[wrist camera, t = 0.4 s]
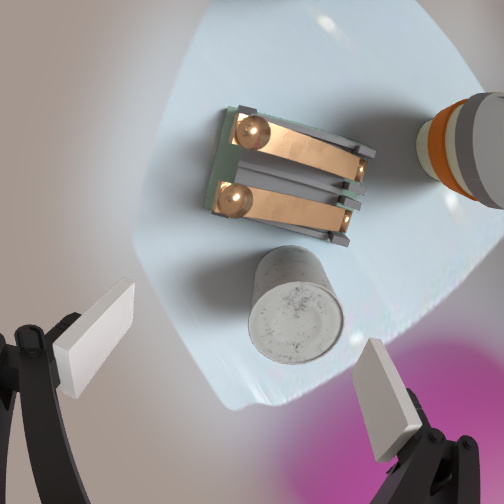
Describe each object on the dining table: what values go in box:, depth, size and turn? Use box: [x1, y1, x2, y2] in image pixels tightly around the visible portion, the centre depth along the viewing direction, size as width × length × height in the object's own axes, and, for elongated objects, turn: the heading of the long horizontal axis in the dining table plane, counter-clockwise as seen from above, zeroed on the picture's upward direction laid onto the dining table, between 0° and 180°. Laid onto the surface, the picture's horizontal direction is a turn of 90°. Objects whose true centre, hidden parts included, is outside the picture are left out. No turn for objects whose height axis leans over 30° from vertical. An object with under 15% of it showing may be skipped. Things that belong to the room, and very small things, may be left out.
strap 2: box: [212, 180, 353, 233], centre depth 27 cm, size 3×15×2 cm
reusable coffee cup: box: [416, 92, 504, 210], centre depth 26 cm, size 12×12×15 cm
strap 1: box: [228, 113, 367, 183], centre depth 26 cm, size 3×15×2 cm
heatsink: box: [203, 105, 376, 247], centre depth 32 cm, size 13×18×8 cm
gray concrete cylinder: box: [248, 245, 345, 365], centre depth 34 cm, size 10×10×12 cm
